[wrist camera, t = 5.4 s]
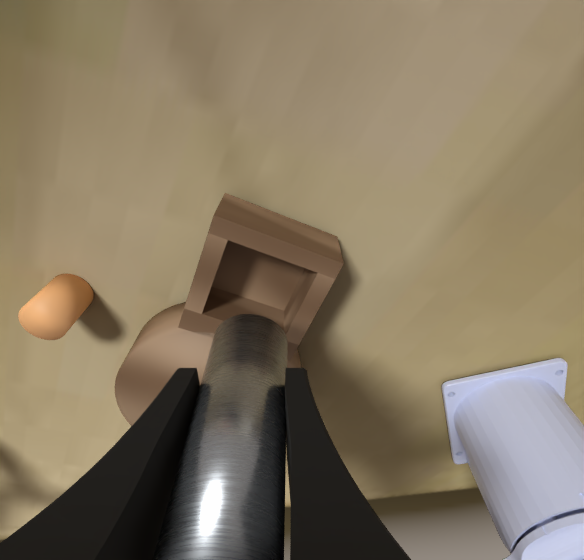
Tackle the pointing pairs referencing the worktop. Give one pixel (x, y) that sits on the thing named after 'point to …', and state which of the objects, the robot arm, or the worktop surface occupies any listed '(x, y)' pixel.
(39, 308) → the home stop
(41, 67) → the worktop surface
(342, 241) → the worktop surface
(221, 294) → the wooden disc with frame
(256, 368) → the steel pin
